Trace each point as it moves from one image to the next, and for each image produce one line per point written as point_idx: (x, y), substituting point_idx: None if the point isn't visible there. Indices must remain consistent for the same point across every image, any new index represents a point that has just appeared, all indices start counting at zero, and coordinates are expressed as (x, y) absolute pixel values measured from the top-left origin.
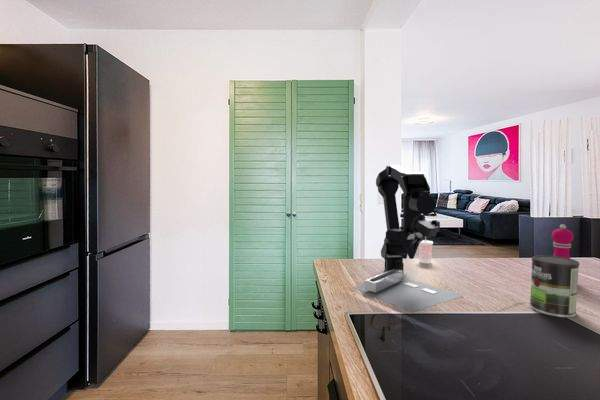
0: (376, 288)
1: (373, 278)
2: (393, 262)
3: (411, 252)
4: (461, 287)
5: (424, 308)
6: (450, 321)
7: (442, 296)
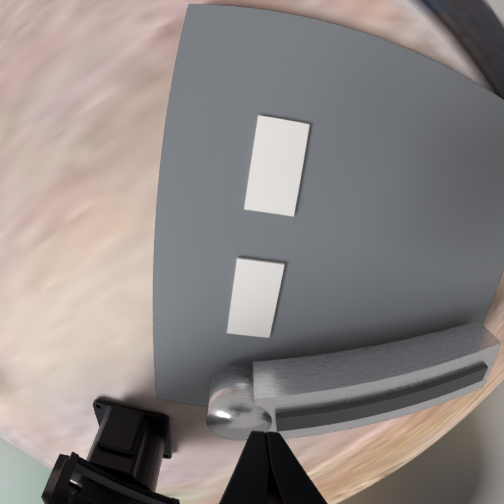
0: (483, 330)
1: (469, 383)
2: (144, 470)
3: (315, 490)
4: (30, 126)
5: (491, 92)
6: (473, 3)
7: (301, 69)
